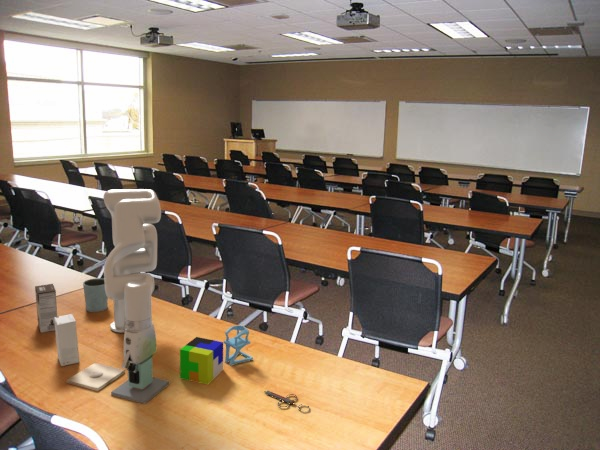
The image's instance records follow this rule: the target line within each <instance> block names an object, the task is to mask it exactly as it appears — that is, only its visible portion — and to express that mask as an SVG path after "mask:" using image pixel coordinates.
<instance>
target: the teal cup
mask: <svg viewBox="0 0 600 450" xmlns="http://www.w3.org/2000/svg"><path fill="white" fill-rule="evenodd" d="M82 285H83V292H84V303H85V310H86V311H87V312H89V313H98V312H104V311H105V310H107V309H108V299H109V298H108V297H107V295H106V292H105V283H104V278H101V277H100V278H89V279H86V280H85V281H83V282H82Z"/></svg>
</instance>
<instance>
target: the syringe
mask: <svg viewBox="0 0 600 450" xmlns="http://www.w3.org/2000/svg"><path fill="white" fill-rule="evenodd" d="M263 392H264V393H265V394H268V395H267V396H269V395H270V396H269V397H271V396H273V397H276V398H278V399H281V400H283V401H284V402H282V401H280V400H279V401H278V402H277V406H280V407H283V406H282V405H279V404H280V403H279V402H281V403H285V402H287V403H288V404H287V403H286V404H287V405H285V406H284V407H287V406H288V405H289V403H290V404H293V403H294V402H295V403H296V401H297V400H298V396H297V395H296V394H294V393H291V394H288V395H295V396H296V397H297V398H296V397H295V396H294V397H295V399H291V398H288V397H287V396H288V395H286V397H284V396H282V395H281V394H278V393H276V392H273V391H270V390H267V391H266V390H263ZM273 397H272V398H273ZM276 398H275V399H276ZM278 399H277V400H278ZM296 399H297V400H296ZM294 400H296V401H294ZM298 405H299V404H298ZM300 405H302V404H300ZM300 405H299V406H300ZM289 406H290V405H289ZM289 406H288V407H289ZM299 406H298V408H299V409H300V410H302V409H301V407H299ZM280 407H279V408H280ZM288 407H287V408H288ZM298 408H297V409H298ZM299 409H298V410H299ZM300 410H299V411H300Z"/></svg>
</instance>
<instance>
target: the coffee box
mask: <svg viewBox="0 0 600 450" xmlns="http://www.w3.org/2000/svg"><path fill="white" fill-rule="evenodd" d="M34 292H35V303H36V313H37V314H36V315H37V316H36V317H37V325H38V328H39V331H40V334H42V333H47V332H52V331H53V332H54V331H55V322H54V317H58V307H57V306H58V305H57V290H56V288H55V286H54V283H49V284H48V283H47V284H42V285H36V286H34Z"/></svg>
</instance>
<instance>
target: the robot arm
mask: <svg viewBox="0 0 600 450" xmlns="http://www.w3.org/2000/svg"><path fill="white" fill-rule="evenodd" d="M103 203H104V205H105V207H106V209H107V210H108V211H109V213H110V216H111V228H112V229H111V231H112V232H111V233H112V235H111V236H112V244H113V246H114V248H113V249H112V250H111V251H110V253H109V254H108V255H107V258H106V259H105V262H104V266H103V276H104V277H103V279H104V283H105V292H106V295H107V297H108V299H109V300H111V301H113V316H114V317H113V318H114V319H113V322H112V323H110V325H109V327H110V330H111V331H113V332H115V333H120V334H122V333H124V335H123V346H122V347H123V361H122V364H121V369H122V368H123V369H124V370H127V372H128V371H129V382H130V383H134V384H139V371H137V370H138V364H139V363H141V362H143V361H144V360H146V359H147V358H148V357H152V358H153V356H154V354H155V353H156V352H157V335H156V334H157V333H156V330H155V324H154V322H153V319H152V318H153V317H152V316H153V315H152V314H153V313H152V312H153V311H152V310H153V309H152V294H153V292H154V291H155V279H154V277H153V276H152V274H151V273H147V272H153V271H154V270H156V268H157V265H158V232H157V229H156V227H155V225H154V224H157V223H159V222H161V221H160V220H161V217H162V209H161V204H160V200H159V198H158V195H157V192H155V190H153V189H147V188H145V189H144V188H138V189H135V188H134V189H133V188H132V189H131V188H129V189H127V188H126V189H124V188H122V189H109V190H106V191H105V192H104V193H103ZM132 363H133V364H134V367H133V366H132Z"/></svg>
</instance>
